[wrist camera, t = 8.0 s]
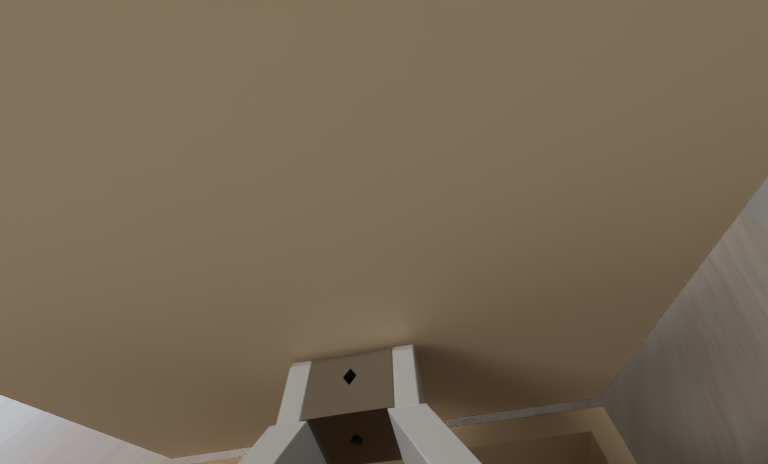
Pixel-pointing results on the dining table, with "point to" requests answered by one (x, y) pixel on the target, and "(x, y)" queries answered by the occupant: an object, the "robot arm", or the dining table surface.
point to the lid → (356, 196)
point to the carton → (539, 440)
